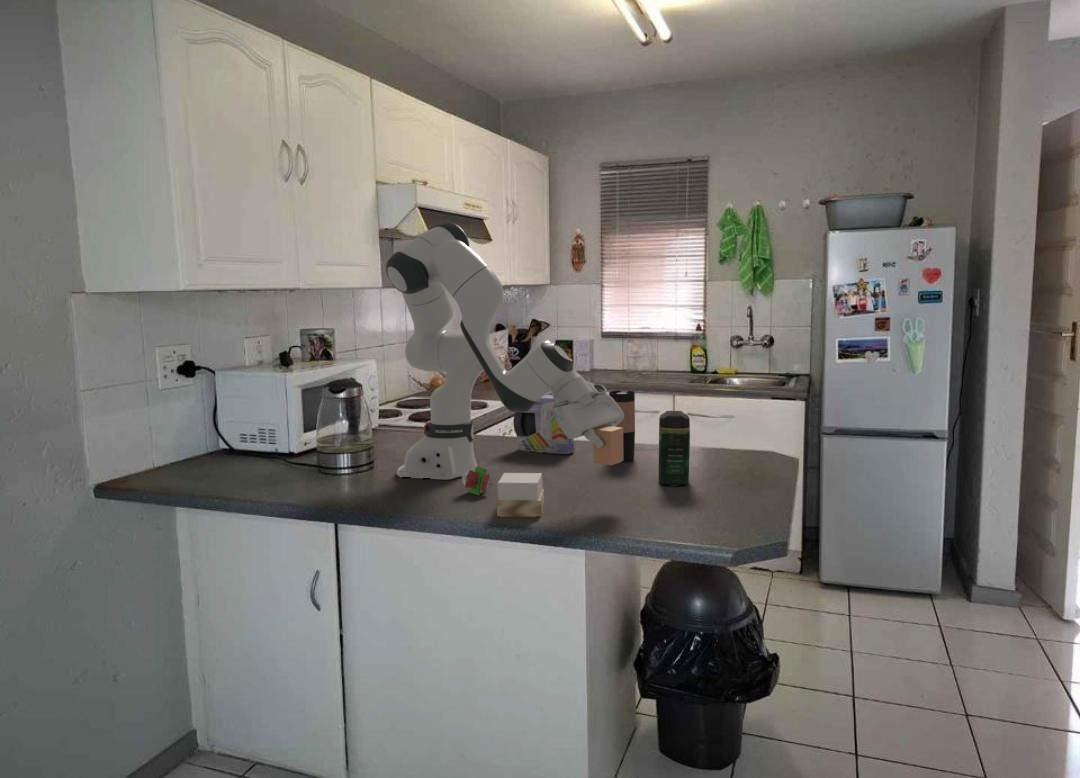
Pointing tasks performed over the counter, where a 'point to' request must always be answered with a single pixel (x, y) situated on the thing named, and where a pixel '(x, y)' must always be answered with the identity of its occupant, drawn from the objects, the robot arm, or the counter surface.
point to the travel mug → (626, 421)
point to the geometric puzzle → (476, 480)
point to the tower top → (520, 486)
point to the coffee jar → (674, 448)
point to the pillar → (609, 445)
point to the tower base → (521, 507)
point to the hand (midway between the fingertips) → (610, 443)
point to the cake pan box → (541, 429)
